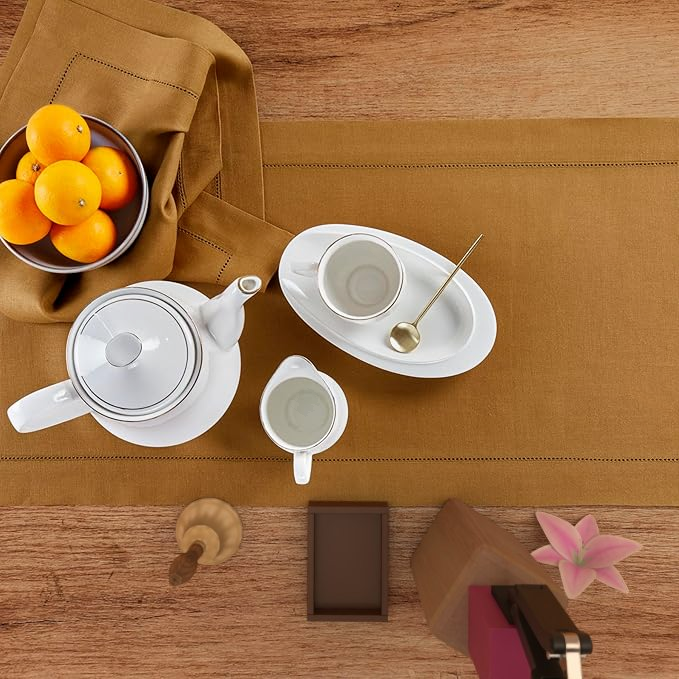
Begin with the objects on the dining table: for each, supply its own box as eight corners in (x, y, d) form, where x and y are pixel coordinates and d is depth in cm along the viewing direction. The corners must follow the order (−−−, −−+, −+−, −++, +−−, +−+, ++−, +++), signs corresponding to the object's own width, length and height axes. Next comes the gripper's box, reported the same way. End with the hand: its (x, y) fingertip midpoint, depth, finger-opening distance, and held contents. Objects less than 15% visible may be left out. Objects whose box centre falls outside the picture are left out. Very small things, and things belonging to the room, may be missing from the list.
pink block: (533, 651, 60) (567, 706, 51) (468, 650, 60) (489, 705, 51) (534, 585, 60) (567, 628, 51) (468, 585, 60) (489, 628, 51)
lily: (634, 540, 80) (656, 521, 72) (608, 634, 76) (629, 625, 67) (538, 501, 84) (548, 479, 76) (508, 589, 80) (516, 575, 71)
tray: (386, 612, 80) (388, 622, 77) (308, 611, 80) (306, 621, 77) (387, 501, 80) (388, 507, 77) (308, 500, 80) (307, 506, 77)
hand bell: (242, 565, 80) (217, 620, 64) (175, 564, 80) (133, 619, 64) (243, 497, 80) (218, 536, 64) (176, 496, 80) (134, 534, 64)
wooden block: (518, 536, 80) (576, 601, 60) (474, 605, 80) (517, 693, 60) (449, 492, 80) (484, 542, 60) (405, 561, 80) (425, 634, 60)
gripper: (542, 637, 35) (464, 520, 58) (542, 994, 35) (463, 733, 58) (684, 638, 35) (548, 520, 58) (683, 997, 34) (548, 734, 58)
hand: (506, 627), depth 58 cm, fingers closed on pink block, 6 cm apart
